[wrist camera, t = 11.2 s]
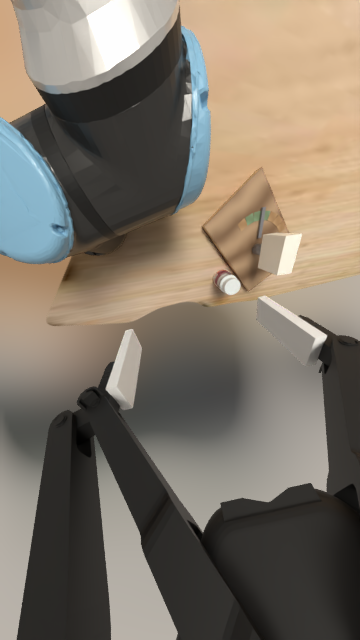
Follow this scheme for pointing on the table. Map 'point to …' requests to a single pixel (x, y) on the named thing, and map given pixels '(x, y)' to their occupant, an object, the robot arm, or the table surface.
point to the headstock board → (245, 227)
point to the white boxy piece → (276, 250)
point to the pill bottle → (226, 282)
